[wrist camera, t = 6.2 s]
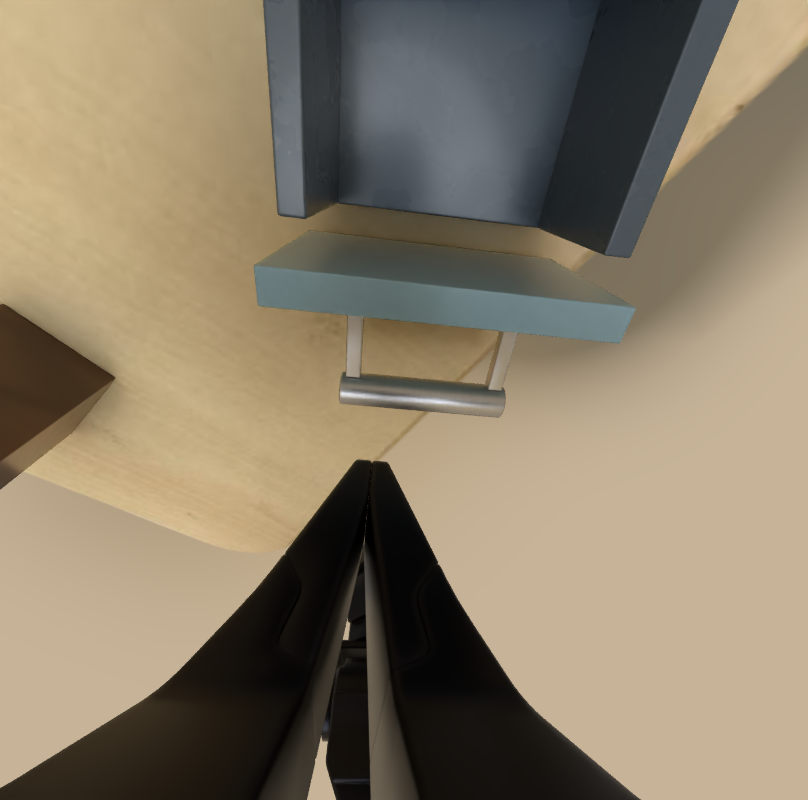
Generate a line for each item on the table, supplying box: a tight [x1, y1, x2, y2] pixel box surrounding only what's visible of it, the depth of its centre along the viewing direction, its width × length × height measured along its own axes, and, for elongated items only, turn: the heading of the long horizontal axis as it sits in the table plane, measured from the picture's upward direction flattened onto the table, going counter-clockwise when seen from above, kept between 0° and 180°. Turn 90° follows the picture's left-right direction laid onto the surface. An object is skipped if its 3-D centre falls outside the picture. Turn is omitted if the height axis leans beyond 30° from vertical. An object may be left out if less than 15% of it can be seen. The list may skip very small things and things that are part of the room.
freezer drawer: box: [254, 0, 739, 417], centre depth 12 cm, size 18×11×7 cm, turn 174°
